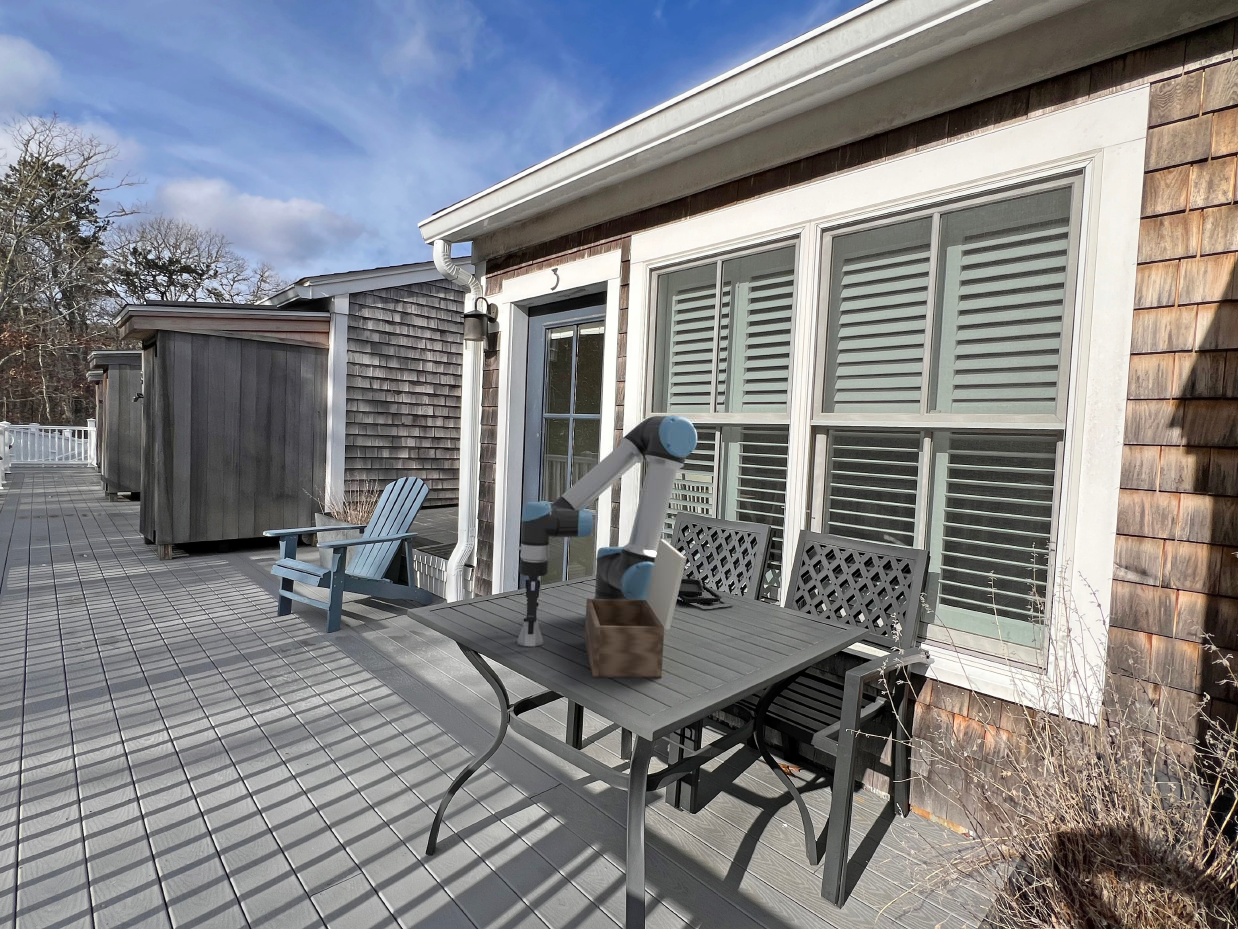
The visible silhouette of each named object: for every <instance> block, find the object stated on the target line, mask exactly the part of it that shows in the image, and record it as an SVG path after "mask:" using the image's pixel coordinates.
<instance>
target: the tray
mask: <svg viewBox="0 0 1238 929" xmlns="http://www.w3.org/2000/svg"><path fill="white" fill-rule="evenodd" d="M703 589H704V590H706V591H707V592H709V593H710V594H711V595H712V596H714V597H715V598H704V597H700V596H702V592H704V590H703ZM698 596H699V597H698ZM678 597H680V598H681V599H682V600H683V601H684V602H683V601H682V602H683V603H685V602H687V603H686V604H688V603H697V604H700V605H703V606H708V605H709V603H710V602H718V601H720V599H721V598H723V596H721V595H719V594H718V593H716V592H715V591H714V590H712V589H710V587H708V586H706V585H703V584H702V581H701V580H700V579H695V578H682V580H681V584H680V588H679V593H678ZM707 603H708V604H707Z"/></svg>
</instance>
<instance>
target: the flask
mask: <svg viewBox="0 0 1238 929" xmlns="http://www.w3.org/2000/svg"><path fill="white" fill-rule="evenodd" d="M538 608H539V606H537V610H538ZM525 609H527V605H526V606H525ZM537 613H538V612H536V618H537V620H536V638H535V646H534V647H540V646H542V645H543V644H544V642H545V641H544V639H543V636H542V633H541V630H540V629H541V628H540V626H539V622H538V614H537ZM526 617H527V615H525V618H526ZM525 628H526V622H524V621H523V626H522V627H521V631H520V633H519V636H518V638H517V639H516V640H517V641H516V642H517V644H518V646H523V647H526V646H525ZM528 647H531V646H528Z"/></svg>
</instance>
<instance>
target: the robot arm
mask: <svg viewBox="0 0 1238 929" xmlns="http://www.w3.org/2000/svg"><path fill="white" fill-rule="evenodd" d="M697 443H698V433H697V430H696V428H695V427H694V424H693V423H692V422H691V421H690V419H688V418H686V417H684V416H679V415H674V414H672V415H663V416H662V415H654V416H650V417H648V418H646V419H644V420H642V421H641V422H640V423H639V424H637V425H636V426H635V427H634V428H633V429H631V430H630V431H629V432H627V433H626V435H624V436H623V437H622V438H621V439H620V444H619V445H618V446H617V447H616V448H614V449H613V450H612V451H611V452H610V453H609V454H608V455H606V456H605V457H604V458H603V459H602V460H601V461H599V463H597V464H596V465H595V466H594V467H593V468H592V469H590V470H589V471H588V472H587V473H586V474H585V475H583V477H581V478H580V479H579V480H577V481H576V482H575V483H574V484H573V485H572V486H571V487H570V488H568V490H566V491H565V492H564V493H563V494H562V495H561V496H559V497H558V498H556V500H554V502H545V501H526V502H525V503H524V504H523V507H522V516H521V537H520V538H521V540H520V541H521V542H520V546H518V551H520V555H519V556H520V558H521V559H520V561H519V574H521V575H522V576H525V577H528V579H525V598H526V602H527V603H526V606H527V609H526V608H525V609H526V612H525V614H526V615H527V617H526V615H525V618H523V623H524V622H526V628H525V646H524V647H529V646H530V647H536V646H535V638H536V620H537V621H538V617H537V618H536V612H537V611H538V609H537V607H539V602H538V599H539V598H540V589H541V580H540V579H538V577H544V576H546V575H547V574H548V572H549V571H548V569H549V561H548V559H549V553H550V538H552V539H553V538H577V539H579V538H587V537H589V536H590V535H592V531H593V529H594V519H593V515H592V512H590V511H589V510H587V509H586V508H587V507H588V506H590V504H592V503H593V502H594V501H595V500H597V498H599V497H600V496H601V495H602V494H603V493H604V492H605V491H607V490H608V489H609V488H610V487H611V486H612V485H613V484H614V483H616V482H617V481H619V479H620V478H621V477H623V476H624V475H625V474H626V473H627V472H628V471H629V470H630V469H631V468H633V467H634V466H635V465H636V464H642V463H643V462H644V461H647V463H648V465H647V468H646V473H645V476H644V477H645V478H644V481H643V484H642V488H641V493H640V497H639V500H638V505H637V509H636V512H635V518H634V520H633V525H632V529H631V533H630V536H629V539H628V540H629V541H628V543H627V544H625V545H624V546H602V547H600V548H598V550H597V552H596V558H595V560H596V562H595V563H596V564H595V570H596V571H595V587H594V588H595V589H594V590H595V591H594V597H593V599H618V600H645V599H646V594H647V590H648V586H649V582H650V578H651V573H652V569H653V565H654V561H655V557H656V552H657V548H658V544H659V540H660V539H662V538H661V537H662V533H663V529H664V526H665V520H666V518H667V513H668V510H669V509H668V508H669V504H670V502H671V497H672V493H673V490H674V485H675V480H676V476H677V472H678V470H680V469H682V468H683V467H684V466H685V461H686V459H687V456H689V455H691V453H693V452H694V450H695V449H696V446H697V445H698V444H697ZM537 613H538V612H537Z"/></svg>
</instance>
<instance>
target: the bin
mask: <svg viewBox="0 0 1238 929" xmlns="http://www.w3.org/2000/svg"><path fill="white" fill-rule="evenodd" d="M585 605H586V606H585V608H586V609H585V624H584V625H585V626H584V627H585V628H584V645H585V650H586V654H587V658H588V663H589V666H590V671H591V675H592V678H594V679H595V678H597V679H599V678H602V679H603V678H605V679H606V678H608V679H609V678H610V679H611V678H612V679H614V678H615V679H616V678H617V679H618V678H620V679H623V678H624V679H625V678H626V679H627V678H628V679H629V678H630V679H631V678H633V679H635V678H636V679H646V678H647V679H654V678H655V679H662V676H663V675H662V674H663V661H664V660H663V658H664V643H665V642H664V639H665V638H664V636H665V628H664V627H663V625H662V624H661V622H660V621H659V619H658V618H657V616H656V615H655V613H654V612H653V610H652V609H651V607H650V606H649V604H648V603H647V601H646V600H618V599H594V598H587V599H586V604H585Z"/></svg>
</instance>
